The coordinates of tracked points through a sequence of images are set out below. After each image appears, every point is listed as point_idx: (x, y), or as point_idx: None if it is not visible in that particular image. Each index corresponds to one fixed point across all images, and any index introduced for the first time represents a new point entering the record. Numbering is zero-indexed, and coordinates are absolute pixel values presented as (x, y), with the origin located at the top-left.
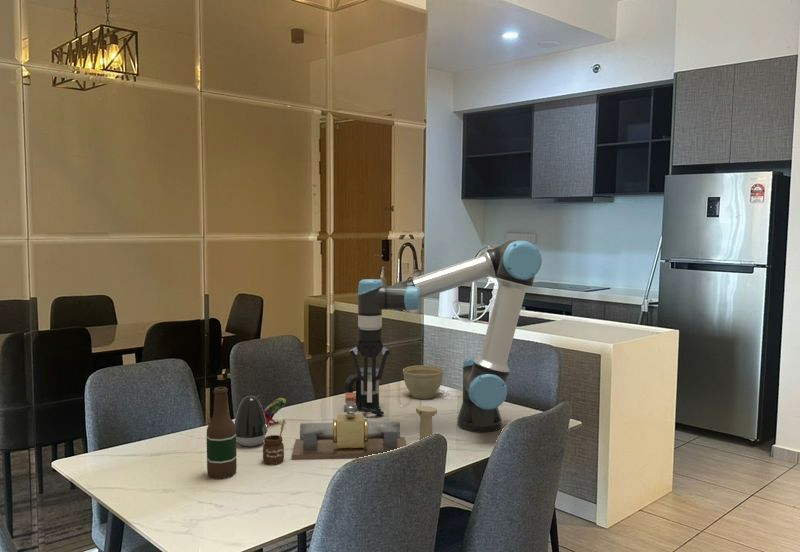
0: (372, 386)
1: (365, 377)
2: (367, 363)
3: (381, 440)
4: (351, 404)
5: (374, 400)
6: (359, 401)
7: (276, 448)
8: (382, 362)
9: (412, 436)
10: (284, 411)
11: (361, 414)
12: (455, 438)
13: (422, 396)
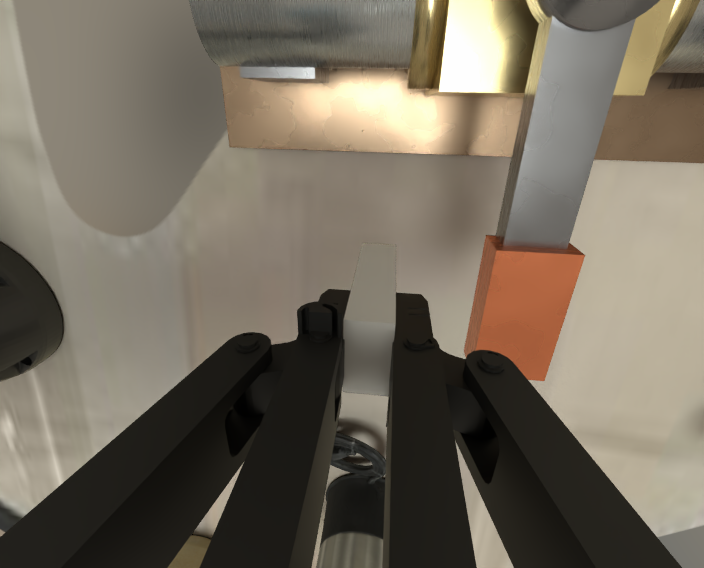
0: (344, 311)
1: (420, 362)
2: (393, 565)
3: (335, 100)
4: (590, 8)
5: (339, 510)
6: None
7: None
8: (59, 542)
9: (208, 210)
10: (647, 519)
11: (454, 86)
12: (39, 166)
13: (197, 543)
